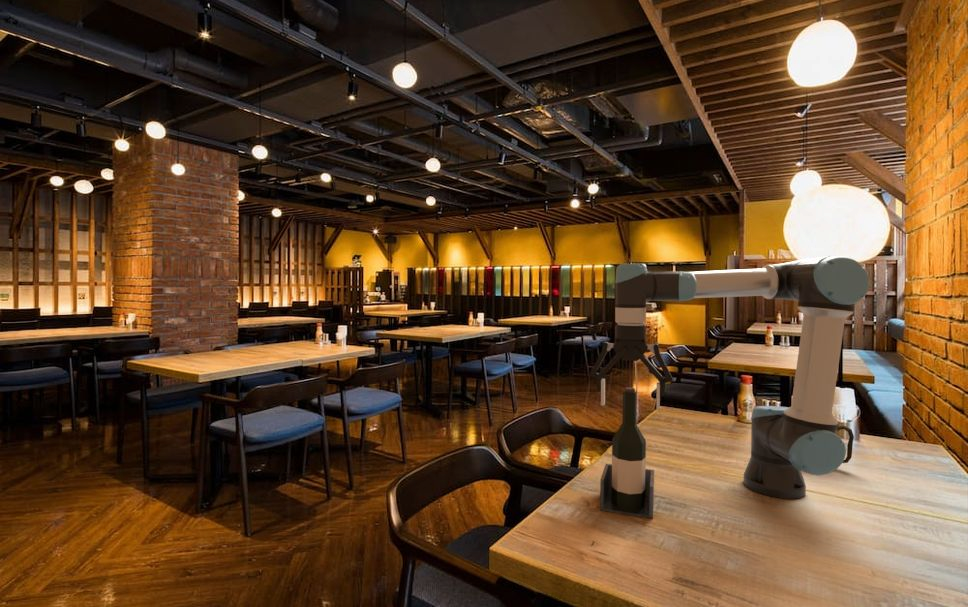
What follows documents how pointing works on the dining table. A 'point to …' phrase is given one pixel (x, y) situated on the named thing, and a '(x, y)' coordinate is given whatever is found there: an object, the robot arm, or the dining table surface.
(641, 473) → the wine bottle
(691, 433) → the dining table surface
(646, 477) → the bottle rest
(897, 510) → the dining table surface
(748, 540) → the dining table surface
